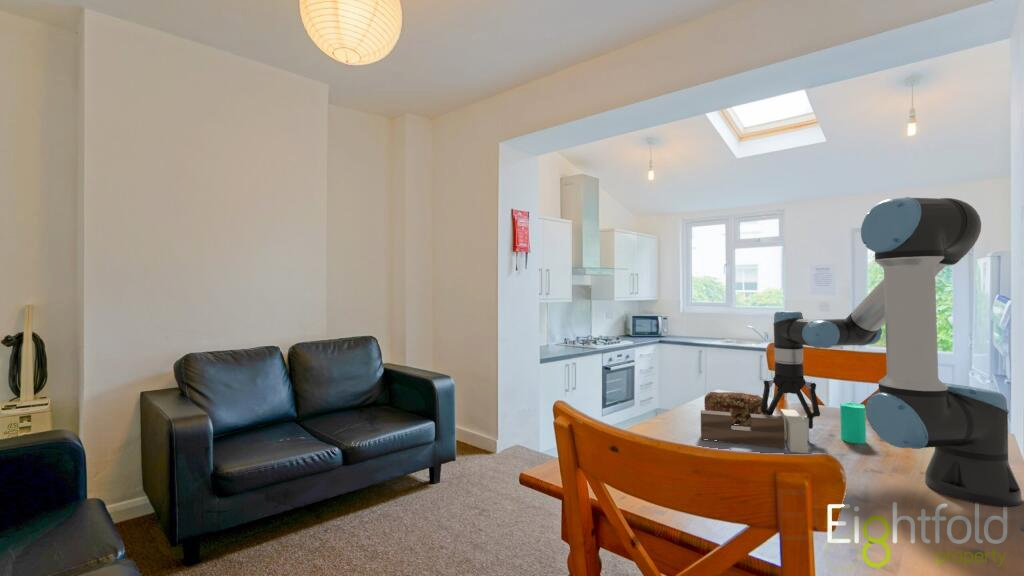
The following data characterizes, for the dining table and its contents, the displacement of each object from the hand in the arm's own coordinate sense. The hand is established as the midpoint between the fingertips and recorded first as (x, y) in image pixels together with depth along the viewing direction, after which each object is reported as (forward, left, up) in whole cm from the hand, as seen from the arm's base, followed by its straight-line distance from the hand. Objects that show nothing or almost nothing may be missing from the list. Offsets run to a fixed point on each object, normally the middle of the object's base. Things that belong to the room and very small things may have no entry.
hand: (789, 437), depth 142 cm
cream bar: (-5, 0, 0) cm, 5 cm away
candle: (+4, -17, -1) cm, 17 cm away
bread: (+15, +14, -1) cm, 20 cm away
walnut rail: (-8, +14, 0) cm, 16 cm away
